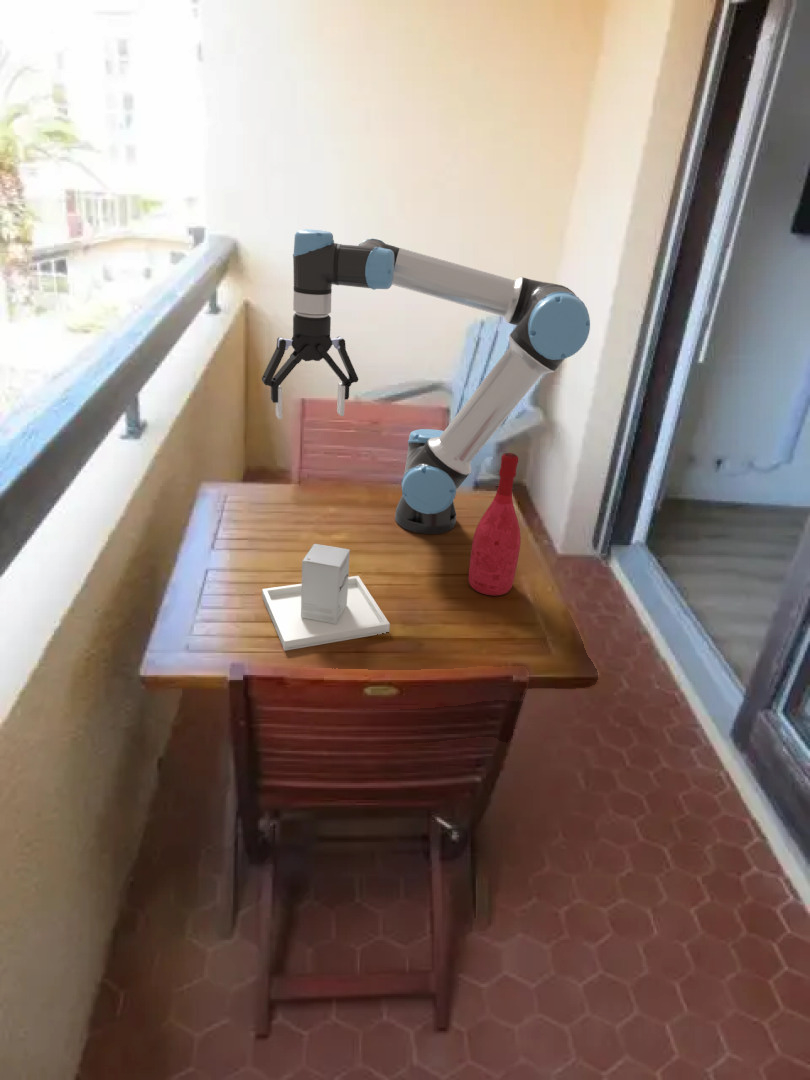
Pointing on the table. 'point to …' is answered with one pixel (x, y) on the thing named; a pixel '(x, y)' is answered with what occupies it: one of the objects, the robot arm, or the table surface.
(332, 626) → the white tray
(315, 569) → the supplement box
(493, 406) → the robot arm
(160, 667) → the table surface
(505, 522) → the wine bottle
